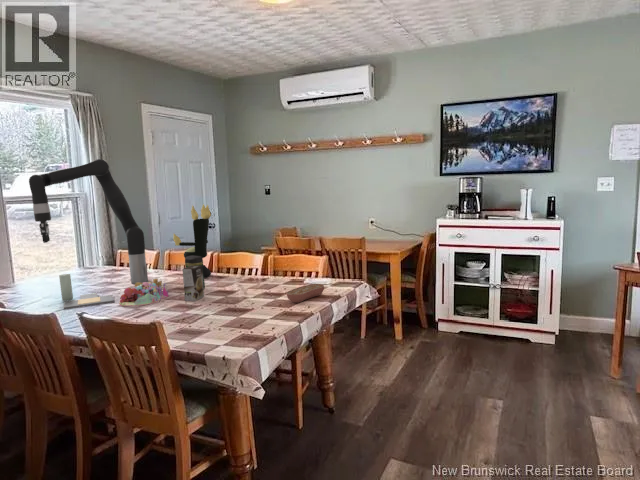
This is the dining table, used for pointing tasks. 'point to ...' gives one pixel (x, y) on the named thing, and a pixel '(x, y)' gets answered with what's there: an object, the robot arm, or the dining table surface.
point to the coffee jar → (195, 263)
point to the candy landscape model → (143, 294)
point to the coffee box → (193, 283)
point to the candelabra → (198, 236)
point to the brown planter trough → (305, 292)
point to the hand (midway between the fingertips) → (46, 241)
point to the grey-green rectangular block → (66, 287)
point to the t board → (88, 301)
